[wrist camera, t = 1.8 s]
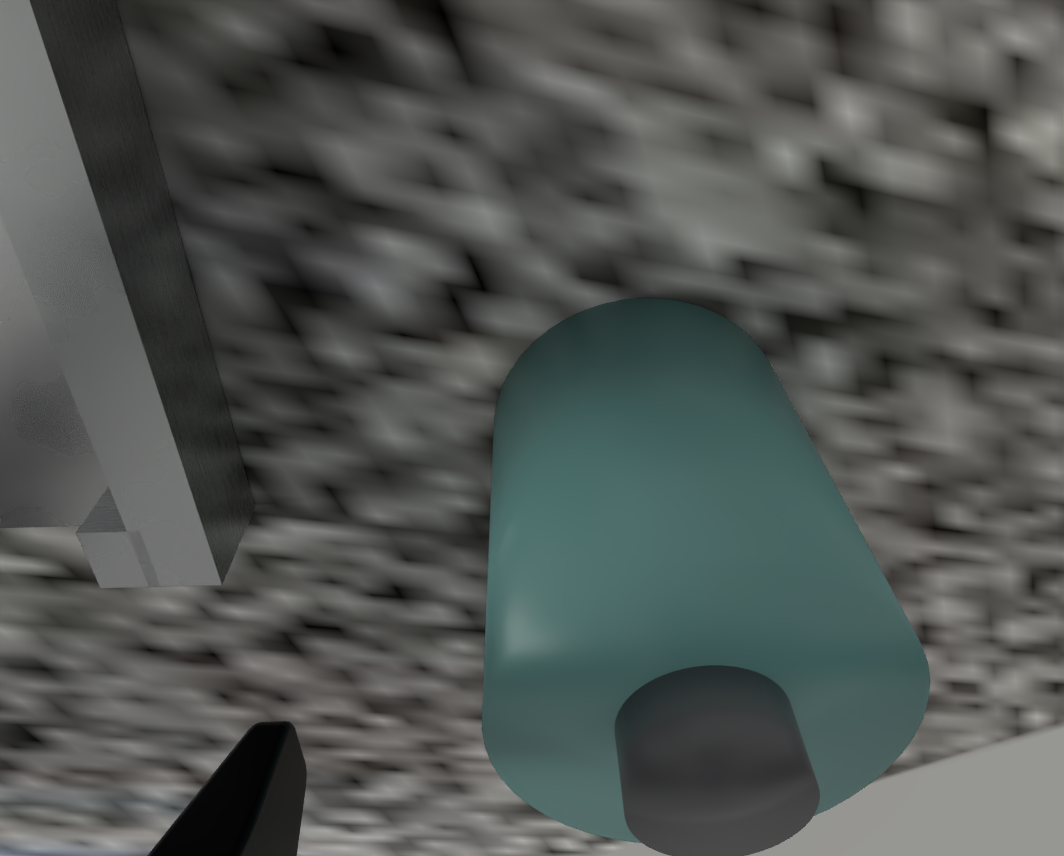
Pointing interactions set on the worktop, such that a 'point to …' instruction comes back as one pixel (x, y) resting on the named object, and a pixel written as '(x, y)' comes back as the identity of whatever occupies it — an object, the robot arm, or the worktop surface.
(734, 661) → the teal bottle with cap
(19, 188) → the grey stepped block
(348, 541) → the worktop surface
